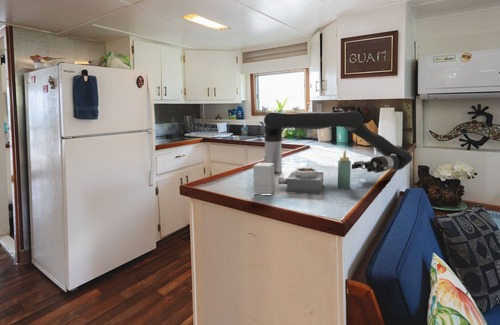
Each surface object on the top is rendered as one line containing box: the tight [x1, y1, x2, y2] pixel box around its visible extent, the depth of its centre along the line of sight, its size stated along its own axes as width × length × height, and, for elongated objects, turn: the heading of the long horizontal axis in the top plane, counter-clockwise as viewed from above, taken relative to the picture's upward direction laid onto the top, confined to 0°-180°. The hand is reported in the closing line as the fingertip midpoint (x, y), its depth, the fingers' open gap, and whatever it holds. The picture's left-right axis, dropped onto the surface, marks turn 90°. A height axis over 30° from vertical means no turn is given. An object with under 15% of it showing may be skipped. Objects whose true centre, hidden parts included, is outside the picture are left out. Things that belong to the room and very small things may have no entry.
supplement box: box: [252, 162, 276, 195], centre depth 131 cm, size 7×7×13 cm
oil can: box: [337, 149, 352, 190], centre depth 136 cm, size 5×5×17 cm
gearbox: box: [277, 167, 324, 195], centre depth 137 cm, size 19×16×8 cm
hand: (359, 168), depth 142 cm, fingers open, 8 cm apart
